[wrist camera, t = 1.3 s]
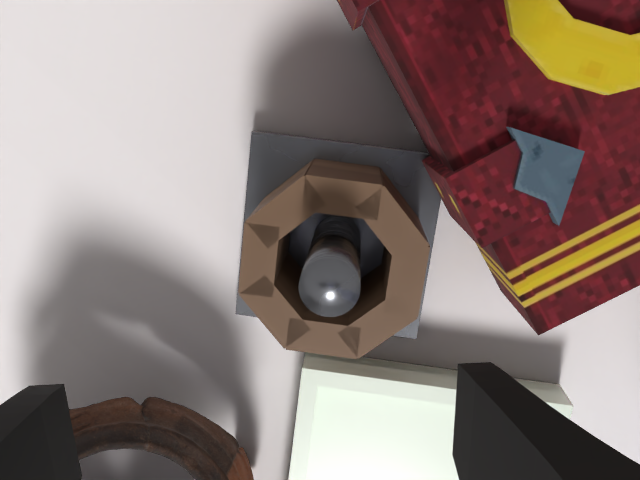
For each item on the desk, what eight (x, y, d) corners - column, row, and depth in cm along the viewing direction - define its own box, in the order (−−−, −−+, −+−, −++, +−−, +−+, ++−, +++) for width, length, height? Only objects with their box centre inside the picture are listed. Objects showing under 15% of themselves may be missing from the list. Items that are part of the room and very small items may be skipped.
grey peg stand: (446, 155, 20) (475, 182, 15) (415, 333, 22) (432, 415, 17) (254, 130, 20) (216, 149, 15) (238, 309, 22) (199, 382, 17)
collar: (426, 172, 20) (439, 192, 16) (402, 320, 21) (409, 366, 18) (268, 152, 20) (249, 167, 17) (253, 300, 21) (233, 342, 18)
